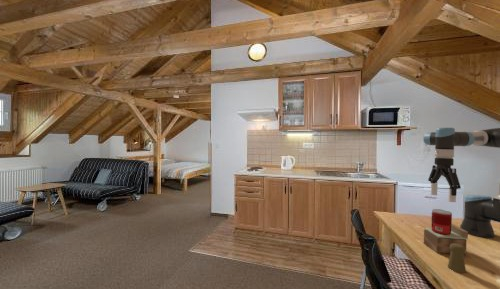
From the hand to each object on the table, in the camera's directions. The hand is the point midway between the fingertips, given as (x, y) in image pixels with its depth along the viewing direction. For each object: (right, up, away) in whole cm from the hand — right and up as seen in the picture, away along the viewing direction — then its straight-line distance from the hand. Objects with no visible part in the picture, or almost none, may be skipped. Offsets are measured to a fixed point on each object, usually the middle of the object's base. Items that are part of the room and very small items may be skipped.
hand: (442, 198), depth 121 cm
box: (+1, -27, +1) cm, 27 cm away
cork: (-9, -27, -18) cm, 34 cm away
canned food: (0, -18, +1) cm, 18 cm away
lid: (+2, -19, 0) cm, 19 cm away
